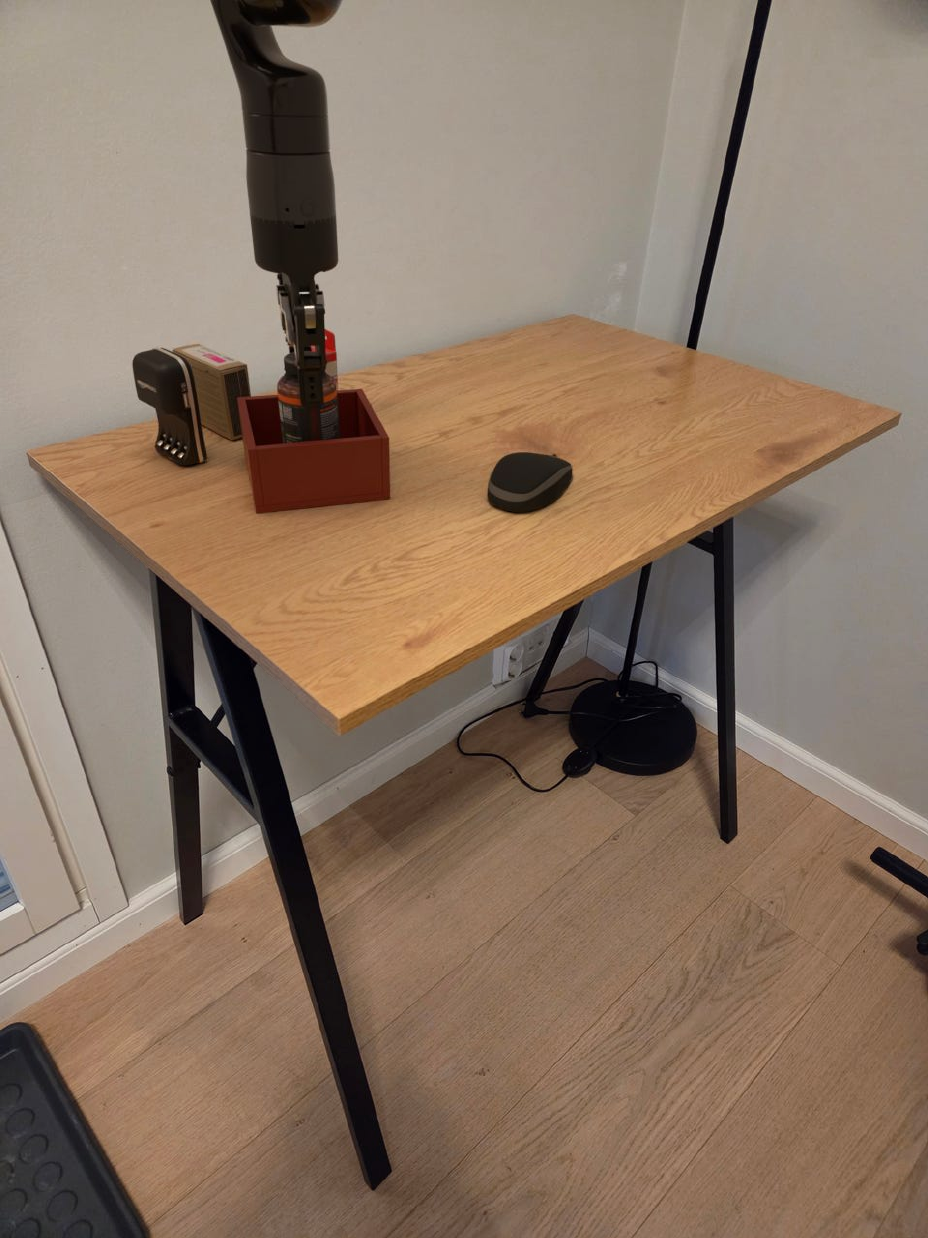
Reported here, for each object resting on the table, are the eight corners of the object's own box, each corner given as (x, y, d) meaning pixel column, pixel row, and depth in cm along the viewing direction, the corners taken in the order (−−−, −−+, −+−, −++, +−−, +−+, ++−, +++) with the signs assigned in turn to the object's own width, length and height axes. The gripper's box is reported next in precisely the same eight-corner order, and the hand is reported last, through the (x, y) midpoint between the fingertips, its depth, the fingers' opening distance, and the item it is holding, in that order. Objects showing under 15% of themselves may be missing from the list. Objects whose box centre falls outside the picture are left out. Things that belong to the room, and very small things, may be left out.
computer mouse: (586, 478, 87) (590, 444, 85) (530, 521, 79) (534, 485, 77) (531, 460, 90) (534, 427, 88) (472, 500, 82) (474, 465, 80)
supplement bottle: (347, 453, 86) (341, 349, 80) (334, 477, 82) (327, 368, 75) (293, 448, 87) (283, 344, 80) (277, 472, 82) (266, 364, 75)
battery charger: (145, 452, 88) (122, 349, 81) (175, 442, 91) (156, 342, 84) (179, 472, 85) (158, 367, 78) (210, 462, 87) (192, 358, 80)
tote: (256, 513, 78) (247, 449, 74) (244, 455, 89) (236, 397, 85) (390, 499, 82) (389, 437, 78) (364, 445, 92) (362, 388, 88)
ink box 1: (258, 433, 93) (249, 363, 88) (230, 442, 91) (219, 370, 86) (210, 409, 99) (200, 341, 94) (183, 416, 97) (170, 347, 92)
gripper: (242, 195, 74) (262, 372, 84) (257, 225, 63) (278, 424, 73) (322, 195, 76) (332, 368, 86) (350, 224, 65) (358, 418, 75)
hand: (307, 393), depth 80 cm, fingers closed on supplement bottle, 6 cm apart
